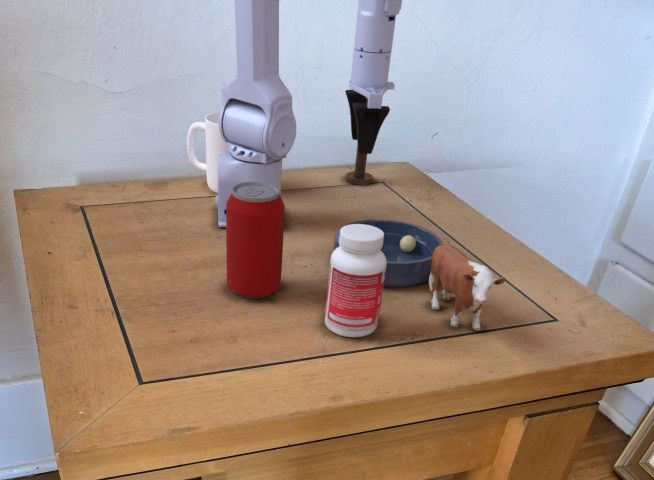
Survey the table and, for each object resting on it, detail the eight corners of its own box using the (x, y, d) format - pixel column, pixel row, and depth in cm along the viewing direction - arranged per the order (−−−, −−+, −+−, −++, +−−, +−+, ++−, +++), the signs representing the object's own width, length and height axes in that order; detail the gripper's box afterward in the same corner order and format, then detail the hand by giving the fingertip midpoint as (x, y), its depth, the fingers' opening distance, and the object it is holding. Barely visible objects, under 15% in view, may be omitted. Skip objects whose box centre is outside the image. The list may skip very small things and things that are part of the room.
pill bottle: (383, 337, 79) (399, 242, 72) (332, 341, 78) (343, 245, 71) (366, 311, 84) (379, 219, 76) (318, 315, 83) (326, 221, 75)
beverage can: (289, 284, 88) (295, 186, 80) (266, 306, 84) (269, 205, 75) (241, 272, 90) (242, 175, 82) (216, 293, 86) (215, 193, 77)
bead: (410, 241, 97) (420, 248, 95) (398, 251, 97) (408, 258, 95) (407, 229, 95) (417, 236, 94) (395, 239, 95) (405, 245, 94)
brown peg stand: (341, 182, 117) (348, 118, 111) (349, 174, 120) (356, 111, 114) (368, 186, 116) (376, 122, 109) (375, 178, 119) (383, 115, 113)
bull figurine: (461, 349, 78) (478, 280, 73) (417, 294, 88) (429, 229, 82) (496, 345, 79) (516, 278, 74) (449, 292, 89) (464, 228, 83)
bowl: (339, 289, 88) (342, 262, 86) (327, 243, 98) (329, 218, 96) (449, 290, 89) (455, 264, 87) (425, 245, 99) (430, 220, 97)
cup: (246, 199, 109) (247, 128, 102) (177, 187, 112) (173, 117, 105) (265, 183, 115) (267, 115, 108) (199, 171, 118) (197, 105, 111)
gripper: (407, 60, 100) (393, 160, 109) (390, 41, 111) (378, 133, 120) (359, 58, 100) (349, 159, 109) (346, 39, 110) (337, 132, 120)
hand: (361, 146), depth 115 cm, fingers open, 7 cm apart
